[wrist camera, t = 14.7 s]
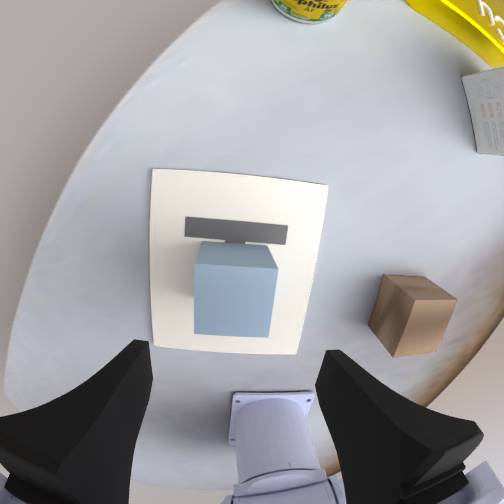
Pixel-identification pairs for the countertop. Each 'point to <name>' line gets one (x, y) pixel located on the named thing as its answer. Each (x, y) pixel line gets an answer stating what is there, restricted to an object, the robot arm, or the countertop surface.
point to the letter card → (231, 231)
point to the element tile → (469, 24)
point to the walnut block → (411, 315)
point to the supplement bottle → (309, 9)
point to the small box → (487, 109)
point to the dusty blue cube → (234, 289)
